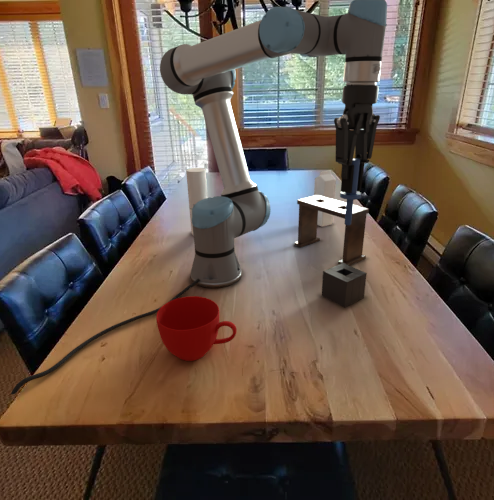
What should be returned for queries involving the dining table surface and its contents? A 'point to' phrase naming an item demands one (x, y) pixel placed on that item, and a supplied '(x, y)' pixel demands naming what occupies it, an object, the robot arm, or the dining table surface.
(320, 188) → the milk
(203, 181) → the cylindrical container
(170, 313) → the ceramic cup
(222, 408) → the dining table surface
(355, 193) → the peg
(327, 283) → the holder
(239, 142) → the robot arm
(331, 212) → the stand
